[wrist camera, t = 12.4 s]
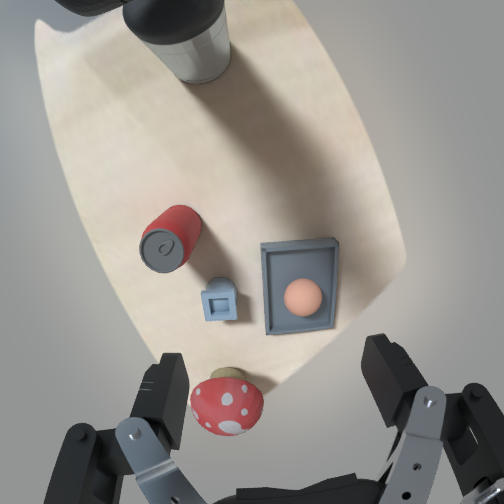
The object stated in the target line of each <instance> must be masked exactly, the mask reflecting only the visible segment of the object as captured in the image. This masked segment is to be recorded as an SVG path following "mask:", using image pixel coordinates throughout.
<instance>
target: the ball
mask: <svg viewBox="0 0 504 504" xmlns="http://www.w3.org/2000/svg"><path fill="white" fill-rule="evenodd" d="M321 301H322V293H321V290H320V288H319V286H318V285H317V284H316V283H315V282H314V281H312V280H310V279H305V278H301V279H297V280H294V281H293V282H291V283H290V284H289V285H288V287H287V288H286V290H285V293H284V302H285V305H286V307H287V309H288V310H289V311H290V312H291V313H293V314H294V315H297V316H309V315H311V314H313V313H314V312H316V311H317V309H318V308H319V307H320V304H321Z"/></svg>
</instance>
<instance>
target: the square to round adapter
mask: <svg viewBox="0 0 504 504" xmlns="http://www.w3.org/2000/svg"><path fill="white" fill-rule="evenodd" d="M201 297H202V303H203V309H204V314H205V320H206V321H219V320H236V319H237V309H236V305H237V289H236V286H235V284H234V283H233V282H232V281H231V280H229V279H227V278H215V279H213V280H211V281H210V282H209V283H208V285H207V287H206V290H202V291H201Z"/></svg>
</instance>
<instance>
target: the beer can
mask: <svg viewBox="0 0 504 504" xmlns="http://www.w3.org/2000/svg"><path fill="white" fill-rule="evenodd" d="M201 225H202V224H201V220H200V217H199V216H198V214H197V213H196V212H195V211H194V210H193V209H192V208H190V207H188V206H185V205H176V206H172V207H170V208H169V209H167V210H166V211H165V212H164V213H162V214H161V215H160V216H159V217H158V218H157V219H155V220H154V221H153V222H152V223H151V224H150V225H148V227H147V228H146V229H145V231H144V232H143V235H142V238H141V242H140V246H139V249H140V255H141V258H142V260H143V262H144V263H145V264H146V266H147V267H149V268H150V269H151V270H153V271H156V272H158V273H169V272H172V271H174V270H176V269H177V268H179V267H181V266H182V265H184V263H185V262H186V261H187V260H188V259H189V257H190V254H191V252H192V250H193V248H194V246H195V244H196V242H197V240H198V237H199V235H200V232H201Z"/></svg>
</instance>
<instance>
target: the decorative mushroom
mask: <svg viewBox="0 0 504 504" xmlns="http://www.w3.org/2000/svg"><path fill="white" fill-rule="evenodd" d="M190 401H191V408H192V412H193V415H194V417H195V418H196V420H197V421H198V422H199V424H200V425H201V426H202V427H204V428H205V429H207V430H208V431H210V432H212V433H214V434H217V435H222V436H234V435H238V434H242V433H244V432H246V431H247V430H249V429H250V428H252V427H253V426H254V425H255V424H256V422H257V421H258V420H259V418H260V416H261V414H262V410H263V404H264V400H263V396H262V394H261V392H260V391H259V390H258V389H257V388H256V387H255V386H254V385H252V384H250V383H249V382H247V381H245V377H244V375H243V374H242V373H241V372H239V371H237V370H236V369H233V368H227V367H226V368H219V369H217V370H215V371H214V372H213V373H212V374H211V379H209V380H206V381H204V382H201V383H200V384H199V385H197V386H196V387H195V388H194V389H193V392H192V394H191V398H190Z"/></svg>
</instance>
